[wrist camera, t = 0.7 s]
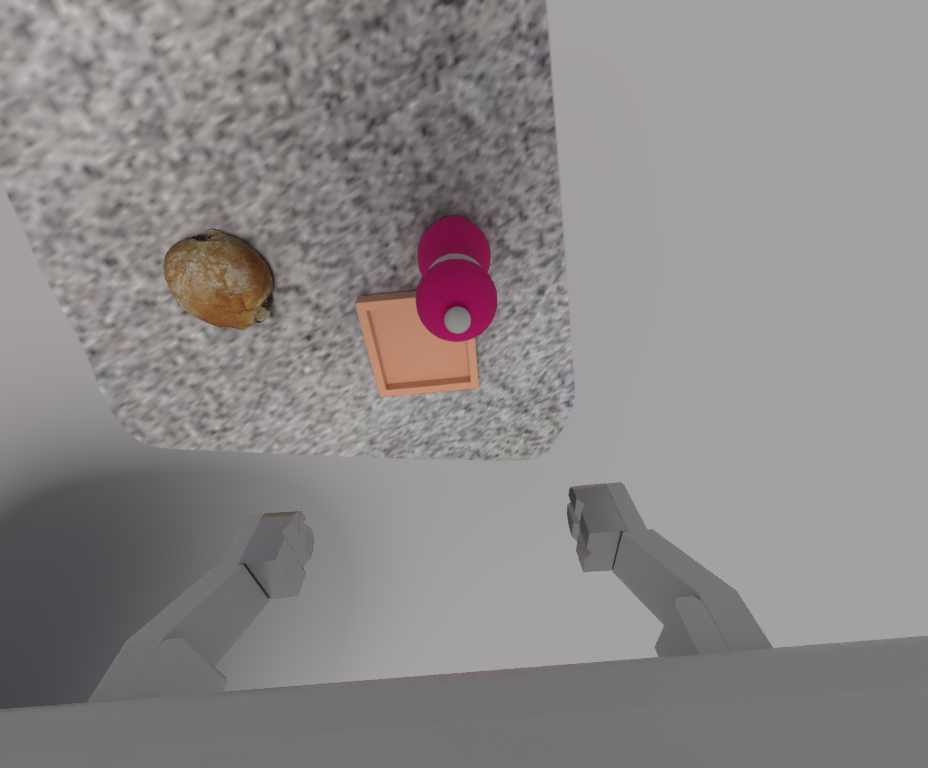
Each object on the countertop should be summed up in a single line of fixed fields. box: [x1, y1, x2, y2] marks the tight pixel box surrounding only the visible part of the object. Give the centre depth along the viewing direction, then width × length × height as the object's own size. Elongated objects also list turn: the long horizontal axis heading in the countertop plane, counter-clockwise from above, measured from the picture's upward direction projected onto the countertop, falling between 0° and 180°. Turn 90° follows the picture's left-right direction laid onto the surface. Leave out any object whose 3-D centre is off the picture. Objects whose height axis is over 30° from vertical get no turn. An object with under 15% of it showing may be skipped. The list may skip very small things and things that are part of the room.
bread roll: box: [164, 229, 273, 330], centre depth 40 cm, size 10×10×8 cm
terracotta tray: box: [355, 290, 479, 397], centre depth 46 cm, size 13×13×2 cm
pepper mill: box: [416, 216, 497, 342], centre depth 32 cm, size 7×7×20 cm
